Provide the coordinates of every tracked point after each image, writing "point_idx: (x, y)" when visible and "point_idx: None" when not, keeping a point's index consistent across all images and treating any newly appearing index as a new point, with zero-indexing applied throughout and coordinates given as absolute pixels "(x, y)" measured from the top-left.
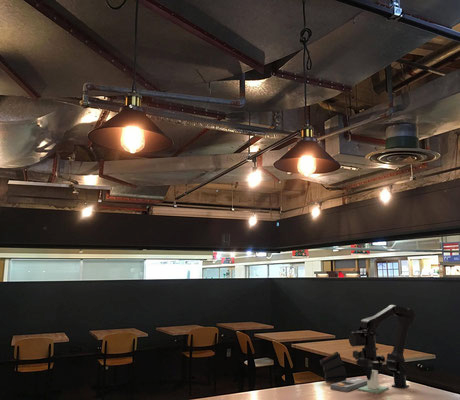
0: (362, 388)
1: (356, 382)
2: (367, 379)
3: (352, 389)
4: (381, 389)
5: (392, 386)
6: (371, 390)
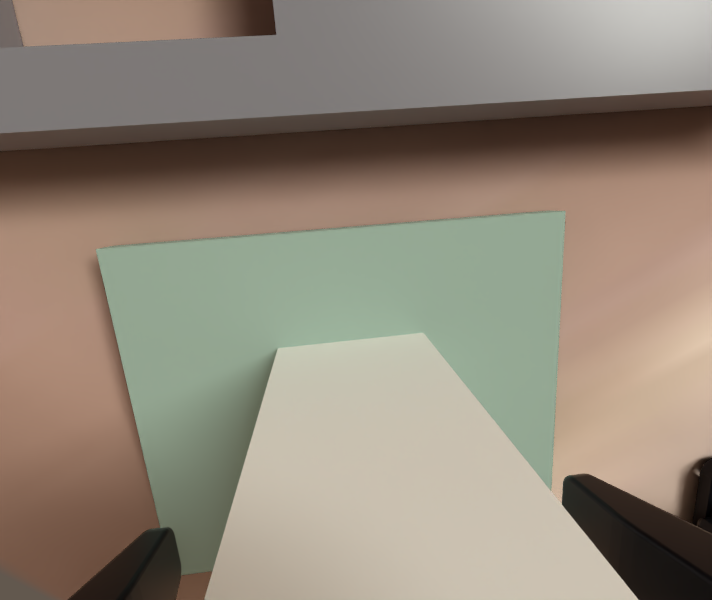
0: (178, 304)
1: (377, 6)
2: (257, 444)
3: (52, 147)
4: None
5: (701, 474)
6: (166, 487)
